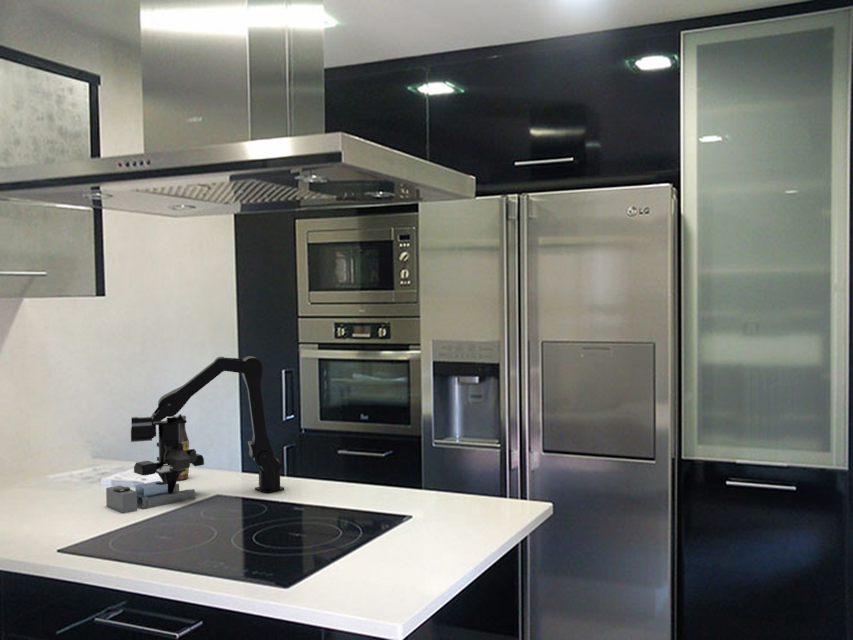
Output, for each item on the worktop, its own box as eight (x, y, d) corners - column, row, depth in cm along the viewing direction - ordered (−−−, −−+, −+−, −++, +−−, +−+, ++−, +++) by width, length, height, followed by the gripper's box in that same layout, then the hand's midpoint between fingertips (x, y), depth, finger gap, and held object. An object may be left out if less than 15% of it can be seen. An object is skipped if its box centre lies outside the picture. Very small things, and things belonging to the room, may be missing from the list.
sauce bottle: (178, 482, 244) (178, 417, 243) (163, 479, 246) (162, 416, 246) (193, 477, 249) (193, 414, 249) (178, 475, 252) (177, 413, 251)
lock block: (167, 501, 221) (167, 483, 221) (144, 506, 216) (143, 487, 216) (159, 498, 224) (159, 480, 224) (135, 503, 219) (135, 484, 219)
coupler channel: (196, 498, 224) (196, 480, 224) (122, 513, 209) (122, 493, 209) (177, 491, 232) (177, 473, 232) (105, 505, 216) (104, 486, 216)
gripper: (151, 448, 211) (152, 506, 212) (213, 438, 225) (214, 492, 225) (132, 442, 219) (133, 498, 220) (193, 433, 233) (194, 486, 233)
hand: (170, 493), depth 224 cm, fingers closed
